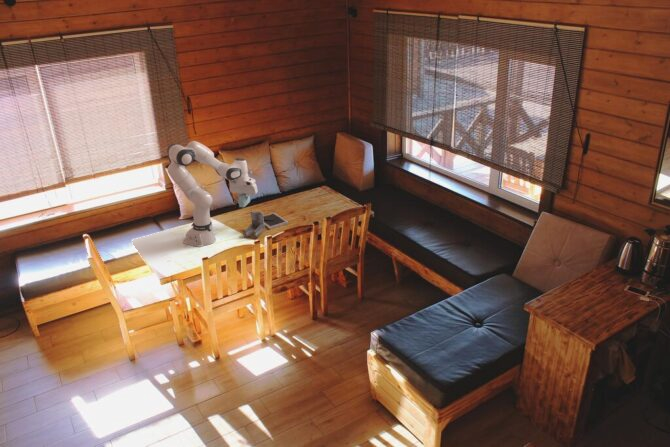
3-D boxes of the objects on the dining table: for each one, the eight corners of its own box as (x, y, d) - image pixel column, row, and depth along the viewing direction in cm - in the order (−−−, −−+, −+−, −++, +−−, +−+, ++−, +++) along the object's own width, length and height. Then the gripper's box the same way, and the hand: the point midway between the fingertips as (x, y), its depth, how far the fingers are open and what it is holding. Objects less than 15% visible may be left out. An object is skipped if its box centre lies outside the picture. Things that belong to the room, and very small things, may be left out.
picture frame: (256, 220, 428) (269, 230, 412) (255, 217, 427) (269, 226, 411) (274, 214, 436) (288, 224, 420) (274, 211, 435) (288, 220, 419)
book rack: (243, 237, 402) (241, 220, 396) (252, 228, 415) (250, 211, 409) (257, 239, 400) (255, 221, 394) (265, 229, 413) (263, 212, 407)
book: (239, 207, 406) (238, 196, 403) (245, 200, 416) (244, 190, 412) (243, 207, 405) (242, 196, 402) (250, 201, 415) (249, 191, 411)
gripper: (226, 181, 403) (229, 199, 408) (253, 183, 397) (255, 201, 403) (230, 177, 408) (232, 195, 414) (257, 180, 403) (259, 198, 409)
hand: (244, 198), depth 408 cm, fingers closed on book, 3 cm apart
